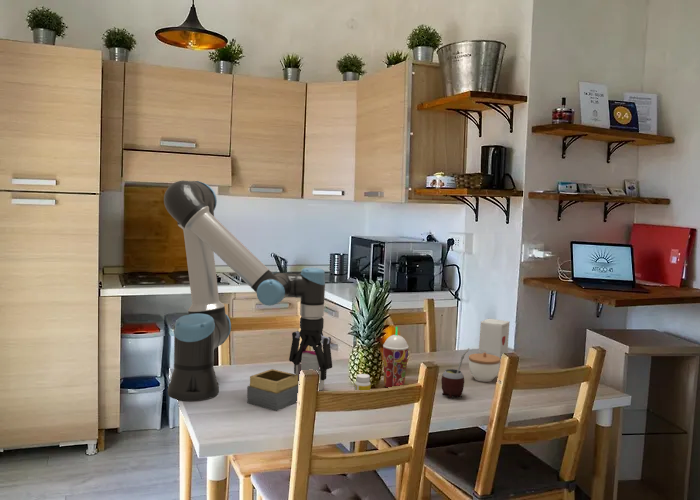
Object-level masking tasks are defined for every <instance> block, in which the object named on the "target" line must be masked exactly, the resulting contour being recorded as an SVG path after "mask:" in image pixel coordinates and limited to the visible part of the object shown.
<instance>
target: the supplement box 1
mask: <svg viewBox="0 0 700 500" xmlns="http://www.w3.org/2000/svg"><path fill="white" fill-rule="evenodd" d="M300 364H301V370H309V369H313V370H317V371H318V370H319V369H320V367H319V364H318V360H317V356H316V354H315V351H314V350H306V351H303V353H302V360H301V363H300Z"/></svg>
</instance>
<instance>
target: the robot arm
mask: <svg viewBox="0 0 700 500" xmlns="http://www.w3.org/2000/svg"><path fill="white" fill-rule="evenodd" d="M217 203H218V202H217V195H216V193H215V191H214V190H213V188H212V187H211V186H210V185H208V184H206V183H205V182H202V181H198V180H178V181H175V182H172V183H171V184H170V185H169V186H168V187H167V189H166V190H165V192H164V195H163V204H164V208H165V209H166V211H167V213H168V214H169V216H171V217H172V218H173V219H174V220H175V221H176V222H177V223H176V224H177V226H178V227H179V228H181V229H182V231H183V237H184V246H185V247H184V248H185V253H186V262H187V263H186V264H187V271H188V281H189V288H190V296H191V297H190V298H191V305H190V307H189V308H188V310H187V311H188V315H187V314H185V315H182V316H179V317H178V318H177V319H176V321H175V323H174V329H173V335H174V336H173V339H174V340H173V341H174V342H173V346H174V347H173V353H174V355H173V359H174V360H173V371H172V374H171V379H170V382H169V384H168V386H167V395H168V397H169V398H170V399H174V400H178V401H186V402H187V401H189V402H192V401H203V400H208V399H212V398H214V397H216V396H217V395H219V393H220V384H219V382H218V379H217V376H216V372H215V369H214V361H215V358H214V356H215V355H214V354H215V352H214V351H215V349H217V348H218V347H220V346H222V345H223V344H224V343H225V342H226V341H227V339H228V337H229V335H230V334H231V331H232V323H231V319H230V317H229V316H228V314H226V308H225V307H226V306H225V304H224V303H223V302H222V301H220V296H219V287H218V281H217V280H218V279H217V278H218V277H217V270H216V269H217V268H216V261H215V254H216V256H218V257H219V258H220V259H221V260H222V261H223V262H224V263H225V264H226V265H227V266H228V267H229V268H230V269H231V270H232V271H233V272H234V273H235V274H236V275H238V277H239V278H241V280H243V281H244V283H246V284H247V285H248V286H249V287H250V288H251V289H252V290H253V291H254V292H255V293H256V296H257V299H258V301H259V302H260V303H261V304H262V305H265V306H268V307H269V306H274V305H278V304H279V303H280V302H282V301H283V300H284V299H285V298H295V299H296V298H297V299H298V298H299V299H300V308H299V309H300V310H299V315H300V316H301V317H300V318H299V329H300V330H297V331H294V332H291V336H292V341H291V346H290V352H289V359H288V361H289V362H292V363H293V374H296V375H298V381H299V374H300V371H301V361H302V353H303V351H307V349H308V347H312V351H315V354H316V356H317V360H318V364H319V370H318V373H319V375H320V383H319V390H320V391H322V390H325V381H326V380H327V371H328V370H329V369H332V368H333V360H332V359H333V358H332V351H331V340H332V337H330V336H325V335H324V333H323V329H324V325H325V324H324V322H325V321H324V320H325V319H324V318H323V317H324V315H325V314H324V313H325V296H326V295H325V293H326V292H325V290H326V279H325V278H326V275H325V274H326V273H325V270H324V269H323V268H320V267H304V268H302V269H301V272H300V273H284V272H276V271H275V272H272V271H271V270H270V269H269V268H268V267H267V266H266V265H265V264H264V263H263V261H261V260H260V259H258V257H256V255H254V253H252V252H251V251H250V250H249V249H248V247H246V246H245V245H244V244H243V243H242V242H241V241H240V240H239V239H238V238H237V236H235V235H234V234H233V233H232V232H231V231H230V230H229V229H227V227H225V226H224V225H223V224H222V223H221V222H220V221H219V220H218V219H217V218H216V217H215V210H216V207H217ZM214 253H215V254H214Z"/></svg>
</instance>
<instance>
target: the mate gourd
mask: <svg viewBox="0 0 700 500" xmlns="http://www.w3.org/2000/svg"><path fill="white" fill-rule="evenodd" d="M469 350H470V348H469V347H468V348H467V349H466V350H465V351H464V352H463V353H462V355H461V357H460V361H459V364H458V367H457V369H455V368H454V369H453V368H452V369H451V368H450V369H449V368H448V369H445V371H443V373H442V375H441V382H440V383H441V389H442V393H441V396H446V397H448V400H451V399H453V398H459V399H462V398H463V395H462V394H463V392H464V389H465V388H464V386H465V376H464V374H463V372H462V371H461V367H462V362H463V359H464V358H465V355H466V353H468V351H469Z"/></svg>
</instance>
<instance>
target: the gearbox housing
mask: <svg viewBox="0 0 700 500" xmlns="http://www.w3.org/2000/svg"><path fill="white" fill-rule="evenodd" d="M246 388H247V395H246V396H247V398H246V403H247V404H249V405H251V406H252V405H253V406H256V407H261V408H264V409H267V410H271V411H275V412H278V411H281V410H283V409H284V408H285V409H286V407H287V408H288V407H290V406H292V405H294V404H297V403H296V401H297V393H298V375H296V374H294V373H291V372H286V371H282V370H278V369H274V368H271V369H268V370H266V371H265V370H264V371H262V372H259V373H256V374H252V375H251V376H249V385H247V387H246Z"/></svg>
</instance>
